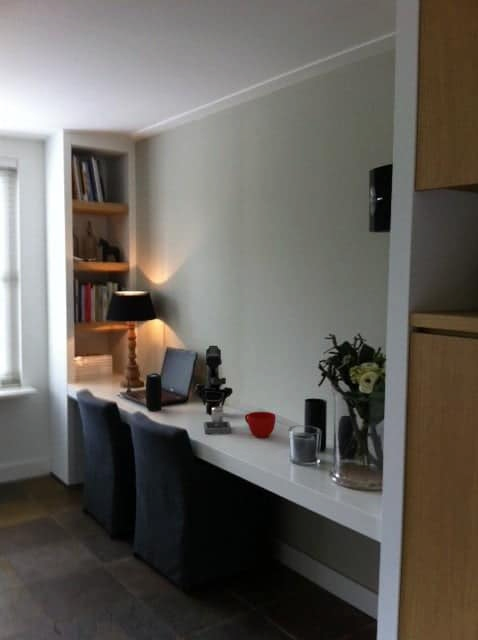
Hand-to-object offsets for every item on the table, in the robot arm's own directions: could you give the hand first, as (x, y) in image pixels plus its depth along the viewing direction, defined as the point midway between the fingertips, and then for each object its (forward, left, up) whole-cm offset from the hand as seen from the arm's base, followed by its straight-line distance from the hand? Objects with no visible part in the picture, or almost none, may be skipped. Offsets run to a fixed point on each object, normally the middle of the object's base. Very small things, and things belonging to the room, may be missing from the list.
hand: (213, 406), depth 306 cm
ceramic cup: (-10, +27, -10) cm, 30 cm away
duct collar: (+3, +10, -10) cm, 14 cm away
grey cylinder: (+3, +10, -10) cm, 14 cm away
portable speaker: (+15, -43, -10) cm, 47 cm away
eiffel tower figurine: (+17, -81, -10) cm, 84 cm away
